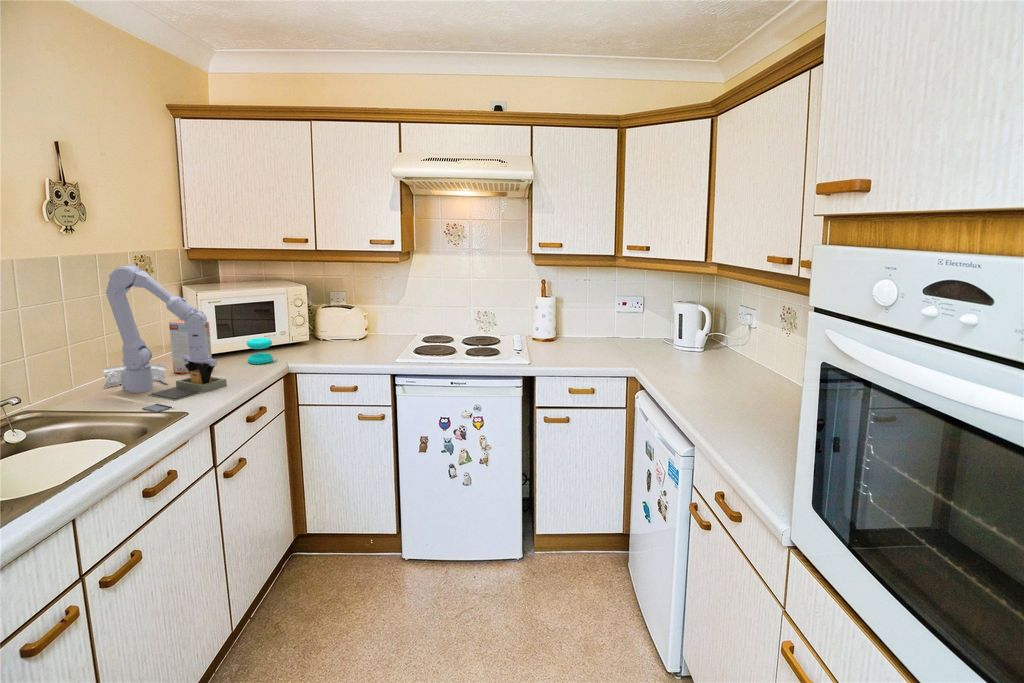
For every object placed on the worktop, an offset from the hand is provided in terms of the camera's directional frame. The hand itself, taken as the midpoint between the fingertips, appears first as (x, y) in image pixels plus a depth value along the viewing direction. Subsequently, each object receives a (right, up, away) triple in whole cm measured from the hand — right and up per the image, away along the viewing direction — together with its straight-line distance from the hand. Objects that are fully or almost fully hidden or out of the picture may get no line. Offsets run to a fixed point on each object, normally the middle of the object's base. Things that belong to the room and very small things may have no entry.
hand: (201, 383), depth 206 cm
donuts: (+3, +6, +42) cm, 42 cm away
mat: (-2, -6, -20) cm, 21 cm away
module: (0, -1, 0) cm, 1 cm away
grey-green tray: (-2, -3, -4) cm, 6 cm away
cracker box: (-15, +2, +22) cm, 26 cm away
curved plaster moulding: (-25, -2, +3) cm, 25 cm away
